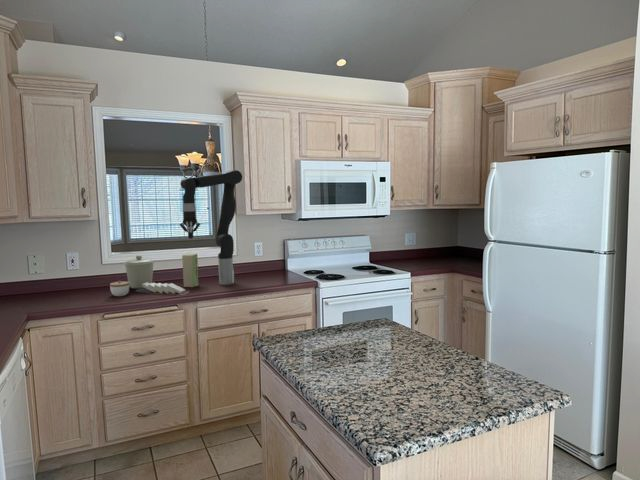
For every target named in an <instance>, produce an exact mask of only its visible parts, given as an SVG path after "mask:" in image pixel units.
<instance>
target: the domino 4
mask: <svg viewBox="0 0 640 480" xmlns="http://www.w3.org/2000/svg"><path fill="white" fill-rule="evenodd" d="M161 284H162V282H158V283H156V284H155V285H154V287H155V288H157V289H160V290H162V291H164V292H166V293H171V292H169V291H167V290H165V289H163V288H161V287H160V286H161Z"/></svg>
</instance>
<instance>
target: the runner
mask: <svg viewBox="0 0 640 480" xmlns="http://www.w3.org/2000/svg"><path fill="white" fill-rule="evenodd" d="M189 293H190V291H186V290H185V292H184V293H182V294H179V293H175V294H173V293H166V292H163V293H160V292H156V293H154V292H150V293H147V294H151V295H171V296H172V295H174V296H184V295H187V294H189Z"/></svg>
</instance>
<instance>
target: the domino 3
mask: <svg viewBox="0 0 640 480" xmlns="http://www.w3.org/2000/svg"><path fill="white" fill-rule="evenodd" d="M155 284H157V283H156V282H152V283H150V284H148V287H150V288H152V289H154V290H156V291H158V292H160V293H163V292H164V291H162V290H160V289H157V288H155V287H154V285H155Z"/></svg>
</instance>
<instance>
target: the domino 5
mask: <svg viewBox="0 0 640 480" xmlns="http://www.w3.org/2000/svg"><path fill="white" fill-rule="evenodd" d="M168 284H169V283H167V282H165V283H161V286H160V287H161V288H163V289H165V290H167V291H169V292H171V293H173V294H175V293H177V292H175V291H173V290H171V289H169V288H167V287H166V286H167V285H168Z"/></svg>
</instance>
